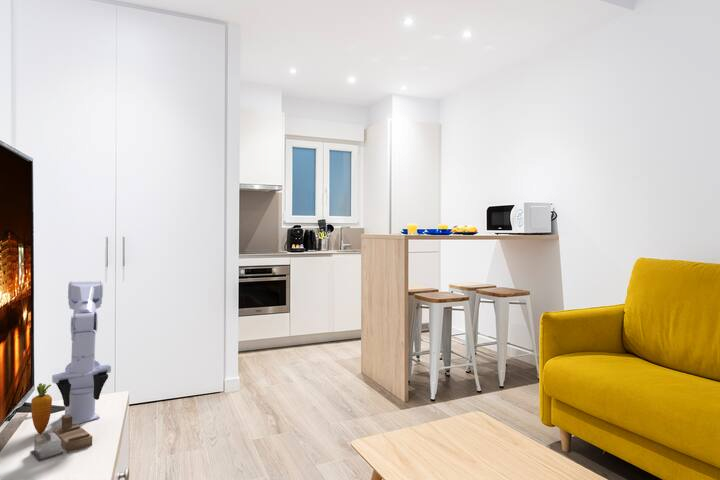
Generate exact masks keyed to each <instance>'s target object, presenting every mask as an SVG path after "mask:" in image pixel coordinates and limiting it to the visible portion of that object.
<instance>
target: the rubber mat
mask: <svg viewBox="0 0 720 480" xmlns="http://www.w3.org/2000/svg"><path fill="white" fill-rule="evenodd" d="M30 454H31V455H32V456H33V457H34V458H35V460H37V462H43V461H46V460H49V459H52V458H56V457H58V456H62V455H64V451H62V450H61V453H59V454H56V455H53V456H49V457H46V458H43V459H40V458H39V456H38V455H37V454H36V453H35V452H34V449H32V450H30Z"/></svg>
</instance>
